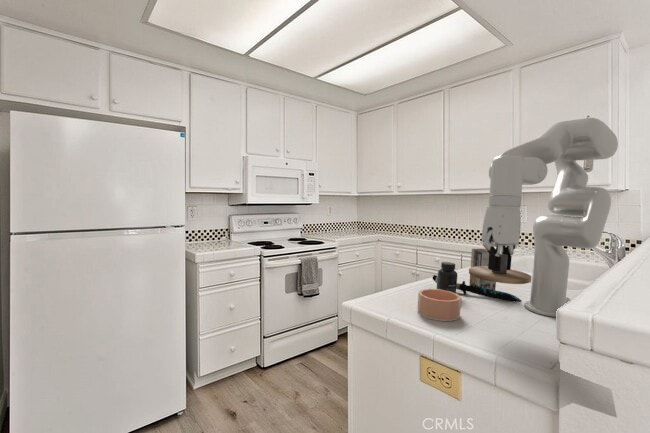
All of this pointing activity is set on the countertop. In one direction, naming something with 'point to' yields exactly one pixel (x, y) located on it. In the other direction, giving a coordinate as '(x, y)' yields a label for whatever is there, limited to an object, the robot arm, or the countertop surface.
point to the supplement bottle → (447, 277)
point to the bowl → (439, 304)
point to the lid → (500, 273)
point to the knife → (484, 291)
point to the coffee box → (481, 259)
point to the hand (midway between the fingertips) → (499, 268)
